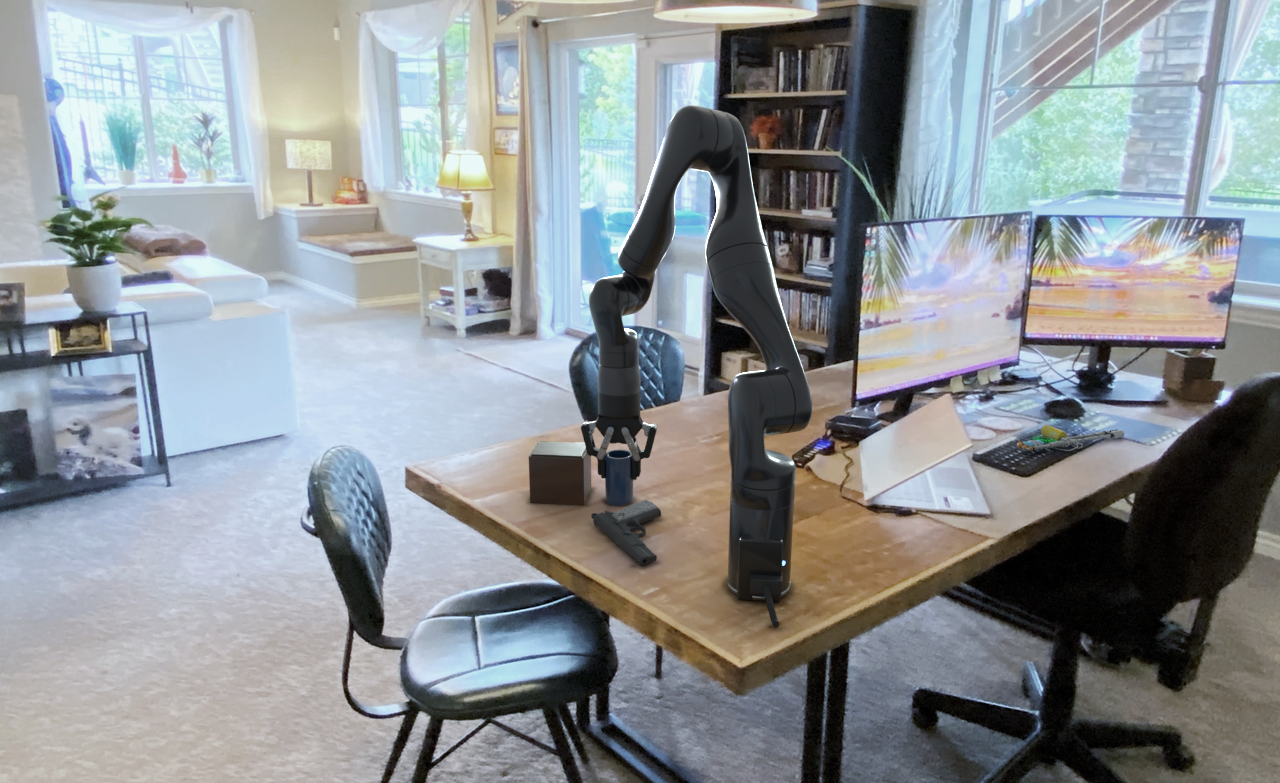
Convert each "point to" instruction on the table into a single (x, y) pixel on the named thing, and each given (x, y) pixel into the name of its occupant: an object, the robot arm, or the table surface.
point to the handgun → (629, 528)
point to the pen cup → (618, 477)
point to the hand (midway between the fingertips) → (619, 477)
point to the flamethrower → (1064, 439)
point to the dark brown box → (559, 473)
